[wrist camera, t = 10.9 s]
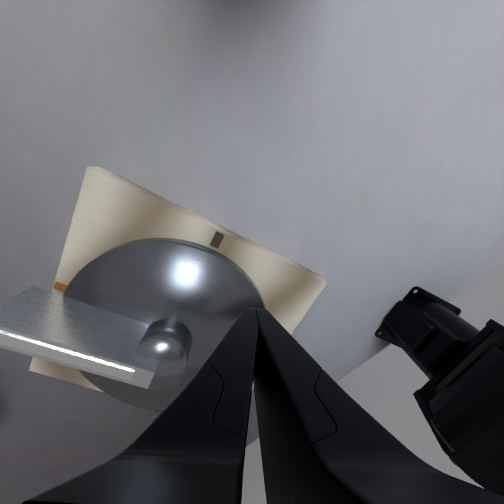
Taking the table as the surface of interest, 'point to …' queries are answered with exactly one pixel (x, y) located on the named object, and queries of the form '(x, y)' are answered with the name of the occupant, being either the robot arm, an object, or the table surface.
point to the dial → (134, 318)
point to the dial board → (177, 227)
